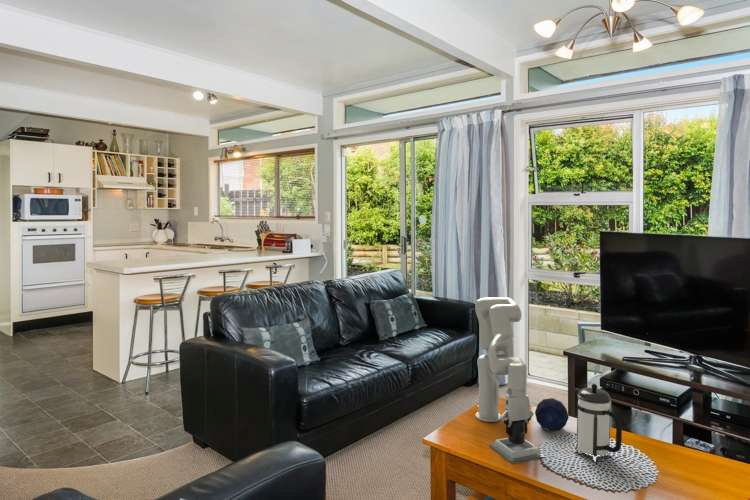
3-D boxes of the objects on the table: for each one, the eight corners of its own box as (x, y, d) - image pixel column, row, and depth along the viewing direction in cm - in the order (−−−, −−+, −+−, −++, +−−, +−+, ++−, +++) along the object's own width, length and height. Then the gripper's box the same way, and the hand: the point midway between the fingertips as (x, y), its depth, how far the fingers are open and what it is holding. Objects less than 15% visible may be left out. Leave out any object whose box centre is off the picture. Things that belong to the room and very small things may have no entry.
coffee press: (573, 460, 202) (575, 388, 201) (573, 444, 217) (574, 376, 215) (620, 468, 196) (622, 393, 194) (617, 451, 211) (619, 381, 209)
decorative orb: (580, 421, 229) (563, 390, 235) (560, 429, 220) (543, 397, 227) (558, 431, 238) (543, 401, 245) (538, 439, 230) (523, 408, 237)
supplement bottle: (525, 445, 206) (526, 416, 205) (508, 443, 207) (508, 415, 207) (524, 438, 213) (524, 410, 212) (507, 437, 214) (507, 409, 213)
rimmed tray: (489, 446, 215) (489, 438, 215) (520, 441, 220) (521, 433, 220) (511, 463, 200) (511, 455, 200) (544, 457, 205) (544, 449, 205)
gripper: (504, 397, 203) (503, 440, 203) (540, 392, 208) (539, 434, 209) (494, 391, 210) (493, 433, 211) (529, 387, 215) (528, 427, 216)
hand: (516, 433), depth 210 cm, fingers closed on supplement bottle, 6 cm apart
